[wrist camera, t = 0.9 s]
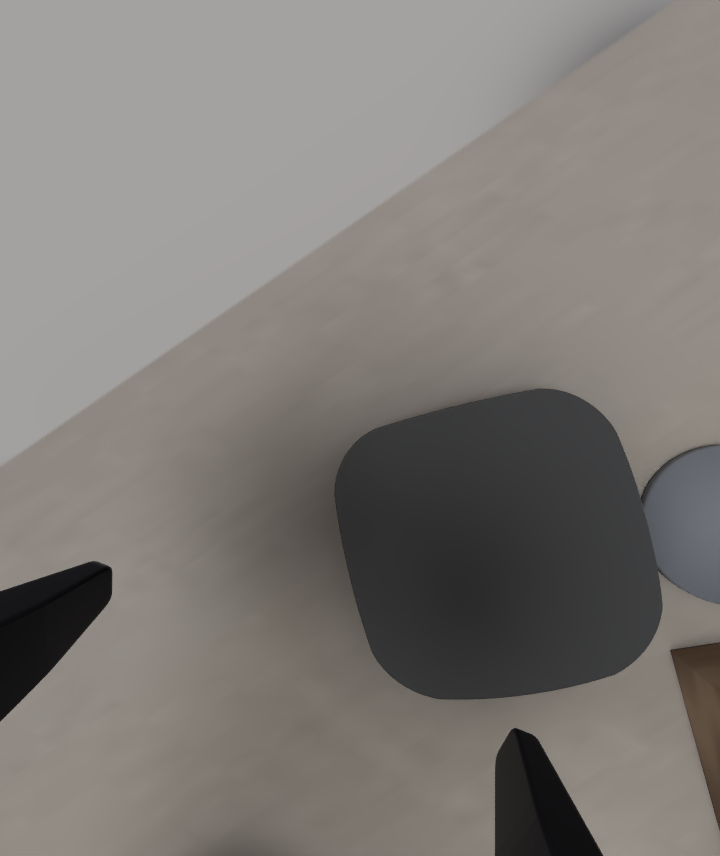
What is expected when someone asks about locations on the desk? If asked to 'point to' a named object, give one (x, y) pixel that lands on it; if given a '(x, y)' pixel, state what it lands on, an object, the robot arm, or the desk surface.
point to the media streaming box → (499, 547)
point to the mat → (687, 521)
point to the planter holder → (703, 708)
